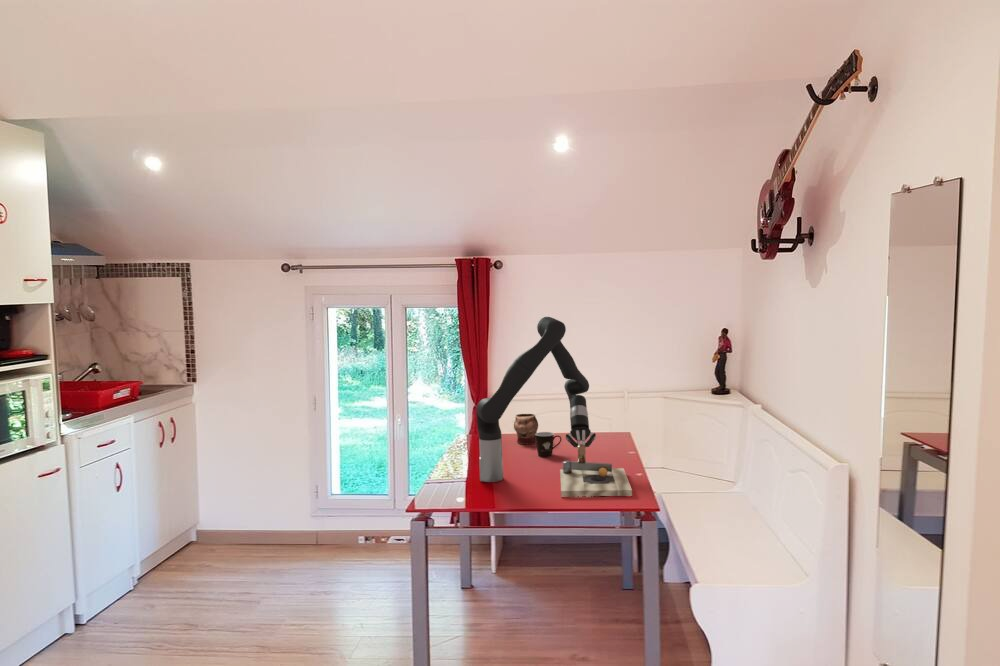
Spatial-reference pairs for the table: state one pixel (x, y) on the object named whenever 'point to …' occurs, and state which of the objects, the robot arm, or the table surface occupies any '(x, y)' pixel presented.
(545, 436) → the coffee mug
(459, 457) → the table surface
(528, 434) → the decorative planter
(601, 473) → the ball
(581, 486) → the board
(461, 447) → the table surface
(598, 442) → the table surface
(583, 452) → the catapult lever
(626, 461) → the table surface
